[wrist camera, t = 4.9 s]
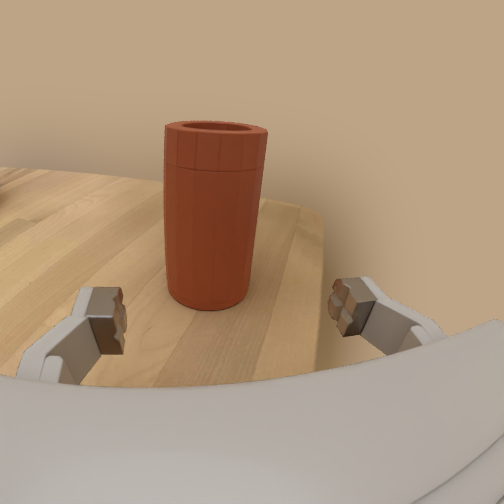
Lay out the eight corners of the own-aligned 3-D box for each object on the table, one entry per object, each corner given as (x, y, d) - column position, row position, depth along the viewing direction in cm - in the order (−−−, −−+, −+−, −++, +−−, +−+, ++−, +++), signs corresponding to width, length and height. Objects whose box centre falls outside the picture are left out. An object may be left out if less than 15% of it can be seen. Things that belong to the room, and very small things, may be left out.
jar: (225, 322, 18) (241, 136, 12) (151, 291, 20) (144, 126, 14) (260, 276, 23) (280, 129, 17) (195, 254, 24) (201, 119, 19)
